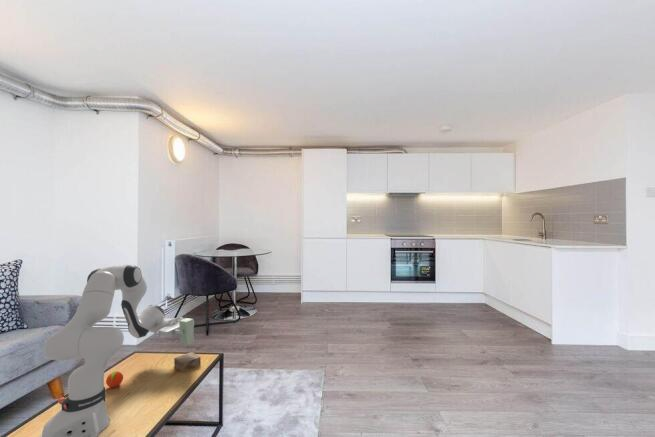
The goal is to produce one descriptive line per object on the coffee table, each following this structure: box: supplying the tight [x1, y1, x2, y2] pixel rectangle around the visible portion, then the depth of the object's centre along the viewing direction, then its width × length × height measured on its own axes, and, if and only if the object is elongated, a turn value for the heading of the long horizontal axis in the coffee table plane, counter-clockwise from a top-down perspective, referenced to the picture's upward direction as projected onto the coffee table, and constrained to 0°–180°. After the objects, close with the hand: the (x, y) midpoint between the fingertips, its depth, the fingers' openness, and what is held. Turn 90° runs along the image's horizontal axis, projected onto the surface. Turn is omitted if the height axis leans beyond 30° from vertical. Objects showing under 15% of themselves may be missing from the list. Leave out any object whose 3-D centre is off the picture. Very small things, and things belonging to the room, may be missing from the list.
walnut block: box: [173, 351, 202, 373], centre depth 173 cm, size 10×10×4 cm
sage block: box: [179, 317, 195, 347], centre depth 173 cm, size 5×5×13 cm
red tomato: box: [105, 371, 124, 388], centre depth 153 cm, size 8×7×7 cm
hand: (187, 329), depth 173 cm, fingers closed on sage block, 5 cm apart
